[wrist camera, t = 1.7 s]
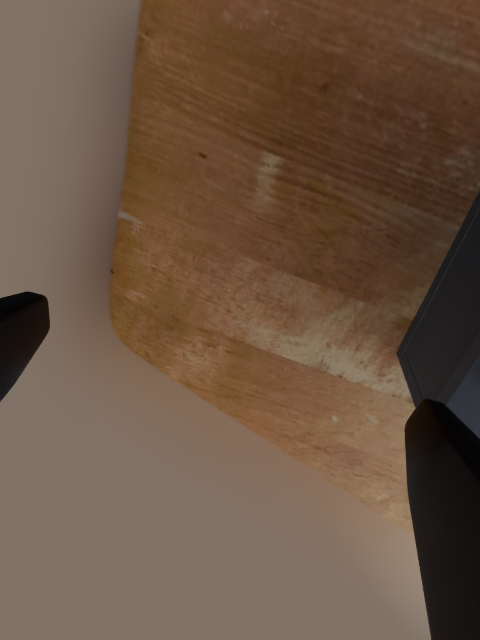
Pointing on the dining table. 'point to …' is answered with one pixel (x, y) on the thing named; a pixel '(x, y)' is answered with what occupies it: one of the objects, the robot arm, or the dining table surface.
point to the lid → (465, 389)
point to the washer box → (445, 316)
